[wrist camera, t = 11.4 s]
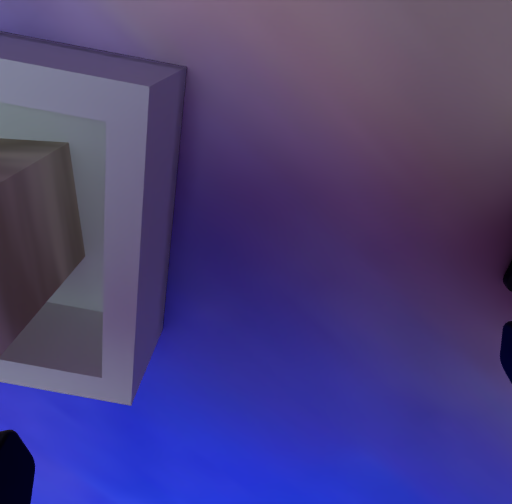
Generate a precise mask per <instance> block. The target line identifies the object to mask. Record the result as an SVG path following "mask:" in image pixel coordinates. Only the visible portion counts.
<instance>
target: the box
mask: <svg viewBox="0 0 512 504" xmlns="http://www.w3.org/2000/svg"><path fill="white" fill-rule="evenodd" d="M186 71H187V67H185V66H179V65H174V64H169V63H164V62H159V61H153V60H148V59H143V58H138V57H132V56H127V55H122V54H117V53H111V52H106V51H101V50H96V49H90V48H85V47H80V46H75V45H70V44H64V43H59V42H54V41H49V40H43V39H38V38H33V37H28V36H22V35H17V34H12V33H7V32H2V31H0V138H4V139H20V140H36V141H52V142H68V143H69V148H70V155H71V162H72V169H73V175H74V182H75V189H76V196H77V203H78V209H79V216H80V223H81V230H82V237H83V243H84V250H85V257H84V259H83V260H82V261H81V262H80V263H79V264H78V266H77V267H76V268H75V269H74V270H73V271H72V273H71V274H70V275H69V276H68V277H67V279H66V280H65V281H64V282H63V283H62V284H61V286H60V287H59V288H58V289H57V290H56V291H55V293H54V294H53V295H52V296H51V297H50V298H49V300H48V301H47V302H46V303H45V304H44V306H43V307H42V308H41V309H40V310H39V311H38V313H37V314H36V315H35V316H34V317H33V318H32V320H31V321H30V322H29V323H28V324H27V325H26V327H25V328H24V329H23V330H22V331H21V333H20V334H19V335H18V336H17V337H16V338H15V340H14V341H13V342H12V343H11V344H10V345H9V347H8V348H7V349H6V350H5V351H4V352H3V354H2V355H1V356H0V382H4V383H10V384H15V385H21V386H26V387H32V388H37V389H43V390H48V391H53V392H59V393H64V394H70V395H75V396H81V397H86V398H92V399H97V400H103V401H108V402H114V403H119V404H125V405H130V406H131V404H132V402H133V400H134V397H135V395H136V392H137V390H138V388H139V385H140V383H141V380H142V378H143V376H144V373H145V371H146V368H147V366H148V363H149V361H150V359H151V356H152V354H153V351H154V349H155V347H156V344H157V342H158V339H159V337H160V335H161V332H162V330H163V319H164V309H165V298H166V287H167V276H168V265H169V255H170V244H171V233H172V222H173V211H174V201H175V190H176V179H177V168H178V157H179V147H180V136H181V125H182V114H183V103H184V93H185V82H186Z"/></svg>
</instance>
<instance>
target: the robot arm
mask: <svg viewBox="0 0 512 504" xmlns="http://www.w3.org/2000/svg"><path fill="white" fill-rule="evenodd" d="M503 282H504V284H505V286H506V287H507V288H508V289H509V290H510V291H511V292H512V261H511V263H510V265H509V267H508V269H507V271H506V273H505V275H504V278H503ZM500 360H501V364H502V366H503V369H504V371H505V372H506V374H507V376H508V378H509V379H510V381H511V383H512V321H508V322H507V323H505V325H504V326H503V332H502V341H501V350H500ZM34 474H35V463H34V459H33V457H32V455H31V453H30V452H29V450H28V449H27V447H26V446H25V444H24V443H23V441H22V440H21V438H20V437H19V435H18V434H17V433H16V432H15V431H13V430H5V431H1V432H0V504H30V503H31V496H32V488H33V481H34Z"/></svg>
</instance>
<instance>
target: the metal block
mask: <svg viewBox="0 0 512 504" xmlns="http://www.w3.org/2000/svg"><path fill="white" fill-rule="evenodd" d="M84 257H85V250H84V243H83V237H82V230H81V223H80V216H79V209H78V203H77V196H76V189H75V182H74V175H73V169H72V162H71V155H70V148H69V143H68V142H52V141H36V140H20V139H4V138H0V356H1V355H2V354H3V352H4V351H5V350H6V349H7V348H8V347H9V345H10V344H11V343H12V342H13V341H14V340H15V338H16V337H17V336H18V335H19V334H20V333H21V331H22V330H23V329H24V328H25V327H26V325H27V324H28V323H29V322H30V321H31V320H32V318H33V317H34V316H35V315H36V314H37V313H38V311H39V310H40V309H41V308H42V307H43V306H44V304H45V303H46V302H47V301H48V300H49V298H50V297H51V296H52V295H53V294H54V293H55V291H56V290H57V289H58V288H59V287H60V286H61V284H62V283H63V282H64V281H65V280H66V279H67V277H68V276H69V275H70V274H71V273H72V271H73V270H74V269H75V268H76V267H77V266H78V264H79V263H80V262H81V261H82V260H83V259H84Z"/></svg>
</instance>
